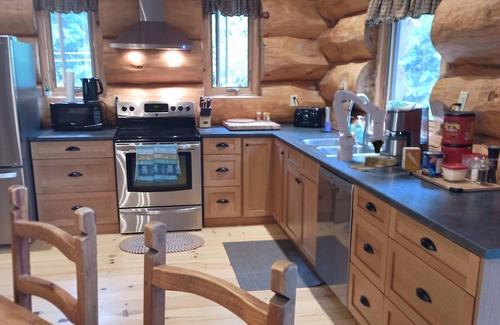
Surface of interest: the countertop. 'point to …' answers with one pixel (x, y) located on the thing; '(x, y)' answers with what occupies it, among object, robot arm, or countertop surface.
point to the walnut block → (369, 161)
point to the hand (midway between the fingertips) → (377, 153)
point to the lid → (382, 155)
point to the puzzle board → (378, 164)
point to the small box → (411, 159)
